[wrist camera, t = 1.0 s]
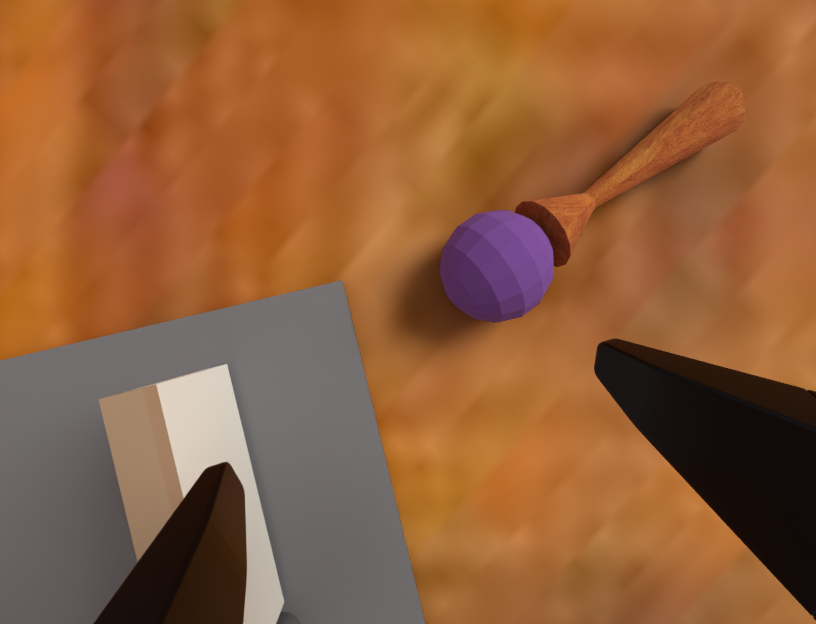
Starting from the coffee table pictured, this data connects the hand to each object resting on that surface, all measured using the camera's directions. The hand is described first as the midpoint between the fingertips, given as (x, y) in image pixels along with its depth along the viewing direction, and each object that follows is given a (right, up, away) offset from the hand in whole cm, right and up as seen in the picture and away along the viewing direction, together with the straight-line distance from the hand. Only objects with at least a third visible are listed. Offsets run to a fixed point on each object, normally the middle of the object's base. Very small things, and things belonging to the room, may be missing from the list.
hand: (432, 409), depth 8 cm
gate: (-10, -8, +12) cm, 18 cm away
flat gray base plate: (-14, -9, +13) cm, 21 cm away
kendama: (+10, +9, +15) cm, 20 cm away
